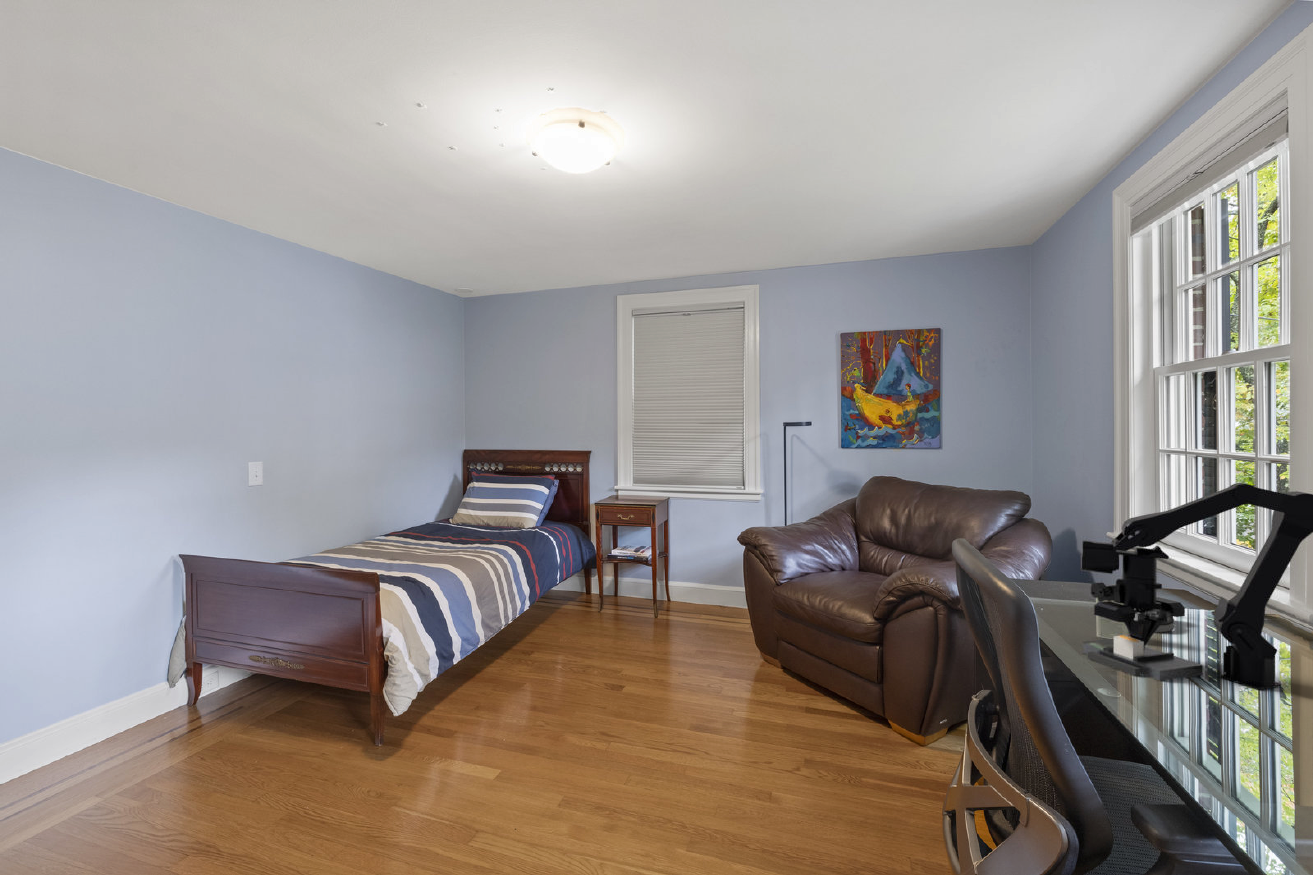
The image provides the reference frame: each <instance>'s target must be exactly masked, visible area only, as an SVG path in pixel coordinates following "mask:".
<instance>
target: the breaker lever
mask: <svg viewBox="0 0 1313 875" xmlns="http://www.w3.org/2000/svg"><path fill="white" fill-rule="evenodd" d="M1114 653H1116V654H1119V655H1122V656H1125V657H1128V658H1131V659H1134V657H1136V656H1144V641H1141V640H1137V639H1134V638H1131V636H1130V637H1128V636H1125V635H1119V636H1114Z"/></svg>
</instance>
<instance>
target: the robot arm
mask: <svg viewBox="0 0 1313 875" xmlns="http://www.w3.org/2000/svg"><path fill="white" fill-rule="evenodd" d="M1243 505H1244V506H1245V505H1252V506H1255V507H1259V508H1263V509H1266V510H1272V515H1271V529H1270V533H1269V535H1268V536H1267V539H1266V540H1265V542H1264V544H1263V545H1262V547H1261V550H1260V552H1259V553H1258V555H1257V557H1256V559H1255V561H1254V562H1253V564H1252V566H1251V568H1250V570H1249V571H1248V574H1247V575H1246V577H1245V579H1244V581H1243V583H1242V584H1241V586H1240V587H1239V590H1238V592H1237V593H1236V594H1235V595H1234V596H1232V598H1230V599H1229V600H1228V599H1227V598H1225V597H1223V596H1220V597H1219V600H1218V603H1217V607H1216V608H1215V609H1214V610H1213V611H1211V615H1212V616H1213V624H1214V627H1215V629H1216V630H1217V631H1218V632H1219V633H1220V634H1221V636H1222V637H1223V638H1224V639H1225V640H1227V642H1229V644H1231V645H1226V646H1225V651H1224V652H1223V654H1222V655H1223V656H1222V658H1223V661H1222V662H1223V663H1222V664H1223V666H1222V667H1223V668H1222V669H1223V673H1220V675H1219V676H1220V678H1222V679H1226V680H1229V681H1232V682H1235V683H1237V684H1241V685H1244V686H1247V687H1251V688H1254V689H1256V690H1264V689H1265V690H1266V689H1273V688H1278V687H1281V685H1282V684H1281V682H1277V681H1276V654H1277V652H1278V649H1277V648H1276V647H1275V646H1274V645H1272V643H1270V642H1269V641H1268V640H1267V639H1266V638H1265V637H1264V636H1263V635H1262V633H1263V630H1264V626H1265V620H1266V619H1265V615H1266V607H1267V604H1268V603H1269V601H1270V599H1271V597H1272V596H1273V593H1274V592H1275V589H1276V588H1277V587H1278V585H1279V583H1280V581H1281V579H1282V577H1283V575H1284V574H1285V572H1286V570H1287V569H1288V566H1289V565H1290V563H1291V561H1292V559H1293V557H1294V555H1295V554H1296V552H1297V550H1298V548H1299V546H1300V544H1301V543H1302V542H1303V541H1304V540H1305V539H1306V538H1308V537H1309V536H1310V535H1312V534H1313V493H1308V492H1303V491H1297V490H1294V491H1288V492H1285V493H1282V492H1278V491H1275V490H1270V489H1264V488H1260V487H1256V486H1254V485H1252V484H1248V483H1244V482H1236V483H1233V484H1231V485H1229V486H1228V487H1226V488H1223V489H1220V490H1217V491H1215V492H1212V493H1210V494H1208V495H1205V496H1202V497H1200V498H1197V499H1194V500H1191V501H1188V502H1186V503H1184V504H1182V505H1179V506H1178V505H1177V507H1173V508H1171V509H1168V510H1165V511H1164V510H1163V511H1161V512H1159V511H1158V512H1154V513H1147V514H1142V515H1138V516H1134V517H1131V518H1128V519H1127V520H1125V521H1124V522H1123V524H1122V526H1121V532H1120V533H1119V534H1118V535H1117V536H1115V538H1113V539H1112V540H1111V542H1102V541H1101V542H1099V541H1094V540H1093V541H1092V540H1086V539H1083V540H1082V541H1081V542H1082V543H1081V545H1082V546H1081V553H1080V571H1082V572H1083V571H1084V572H1091V573H1092V572H1093V573H1101V574H1110V575H1113V574H1114V572H1116V571H1118V570H1120V556H1122V576H1121V577H1122V578H1117V580H1115V584H1113V585H1106V584H1105V583H1104V582H1093V583H1091V585H1090V595H1091V596H1092V597H1093V598H1095V599H1096V598H1097V599H1098V603H1096V602H1095V604H1094V605H1093V615H1094V616H1096V615H1097V616H1100V617H1104V618H1107V619H1110V620H1114V621H1117V622H1124V623H1125V625H1126V627H1127V629H1128V631H1129V634H1130V637H1131V638H1134V639H1137V640H1141V641H1144V647H1146V645H1147V644H1148V642H1149V641H1150V640H1151V638H1152V636H1153V635H1154V634H1155V633H1154V632H1155V631H1156V630H1157V629H1158V627H1159V626H1160V625H1161V624H1162V622H1165V619H1162V618H1158V614H1157V612H1162V611H1166V612H1169V613H1171V614H1172V616H1173V618H1174V617H1175V618H1179V617H1185V616H1186V607H1185V606H1184V605H1183V604H1182V603H1181V602H1180V601H1177V600H1172V599H1168V598H1163V597H1160V596H1157V594H1158V593H1157V590H1160V589H1163V584H1162V583H1160V582H1157V568H1158V567H1157V565H1158V562H1157V561H1158V559H1161V560H1163V559H1164V560H1168V559H1170V556H1169V555H1168V554H1167V553H1166V552H1164V551H1163V550H1162V548H1161V547H1160V546H1159V545H1156V546H1154V547H1153V548H1148V547H1151V546H1153V545H1155V544H1157V543H1158V542H1161V541H1162V540H1165V539H1166V538H1167V537H1168V536H1170V535H1171V534H1173V533H1174V532H1176V531H1178V530H1179V529H1182V528H1184V527H1186V526H1189V525H1192V524H1194V523H1198V522H1200V521H1203V520H1206V519H1208V518H1210V517H1211V518H1212V517H1214V516H1217V515H1220V514H1223V513H1225V512H1228V511H1230V510H1233V509H1235V508H1238V507H1242V506H1243ZM1134 548H1135V549H1134ZM1131 549H1134V550H1131ZM1104 600H1107V601H1108V602H1102V601H1104ZM1110 601H1114V602H1116V603H1114V602H1110ZM1118 603H1122V604H1123V605H1122V604H1118Z"/></svg>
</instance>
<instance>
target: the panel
mask: <svg viewBox="0 0 1313 875" xmlns="http://www.w3.org/2000/svg"><path fill="white" fill-rule="evenodd" d="M1081 647H1082V649H1081V650H1082V654H1086V655H1087V654H1088V652H1092V651H1093V652H1095V653H1098V654H1101V655H1104V656H1107V657H1109V658H1112V659H1115V660H1118V661H1121V662H1123V663H1126V664H1129V665H1132V666H1134V667H1137V668H1140V675H1141V676H1142V675H1143V676H1144V677H1145V676H1146V677H1147V678H1148V677H1149V678H1151V679H1153V680H1156V681H1159V682H1160V681H1168V680H1169V681H1170V680H1175V679H1181V678H1182V679H1183V678H1189V677H1196V676H1197V677H1198V676H1203V675H1204V674H1203V672H1204V665H1203V664H1200V663H1197V662H1194V661H1191V660H1189V659H1185V658H1182V657H1180V656H1179V657H1178V656H1176V655H1175V653H1174V652H1171V651H1170V652H1165V651H1164V652H1163V651H1161V650H1157V649H1154V648H1152V647H1148V646H1145V647H1144V656H1136V657H1134V659H1131V658H1128V657H1125V656H1122V655H1119V654H1116V653H1114V640H1111V641H1103V642H1094V643H1085V644H1083V643H1082V646H1081Z"/></svg>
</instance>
